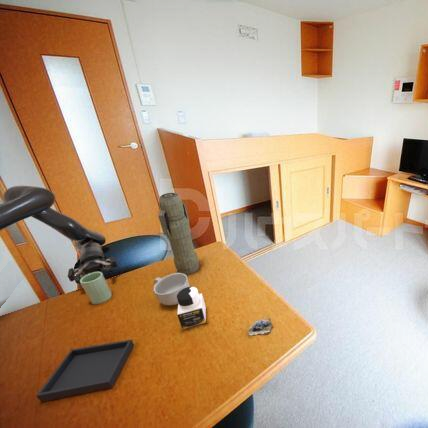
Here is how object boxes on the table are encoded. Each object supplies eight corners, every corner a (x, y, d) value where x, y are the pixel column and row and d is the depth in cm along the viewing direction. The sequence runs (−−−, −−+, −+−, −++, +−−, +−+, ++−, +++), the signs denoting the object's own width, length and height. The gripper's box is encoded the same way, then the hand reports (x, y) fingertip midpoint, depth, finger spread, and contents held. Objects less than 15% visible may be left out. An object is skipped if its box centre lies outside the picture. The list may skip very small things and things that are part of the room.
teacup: (197, 295, 91) (193, 279, 87) (168, 315, 83) (162, 297, 79) (177, 282, 98) (173, 266, 94) (149, 298, 89) (142, 281, 86)
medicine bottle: (182, 330, 77) (172, 302, 72) (183, 313, 83) (175, 287, 78) (205, 322, 80) (198, 296, 75) (205, 307, 86) (199, 281, 81)
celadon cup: (87, 305, 86) (75, 284, 82) (97, 293, 91) (86, 272, 87) (106, 302, 87) (95, 281, 83) (115, 291, 92) (105, 270, 88)
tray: (41, 401, 58) (35, 395, 57) (75, 355, 69) (71, 349, 68) (112, 387, 62) (108, 381, 60) (134, 345, 72) (131, 339, 71)
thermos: (170, 276, 100) (145, 200, 85) (187, 260, 111) (168, 189, 96) (189, 278, 99) (168, 201, 85) (205, 261, 110) (188, 190, 95)
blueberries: (275, 331, 77) (274, 327, 76) (250, 342, 74) (249, 338, 73) (268, 316, 83) (268, 312, 82) (245, 326, 79) (244, 321, 78)
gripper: (65, 257, 95) (64, 277, 85) (110, 244, 104) (114, 261, 94) (73, 272, 99) (73, 293, 88) (116, 258, 107) (121, 276, 97)
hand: (94, 276), depth 91 cm, fingers open, 8 cm apart
